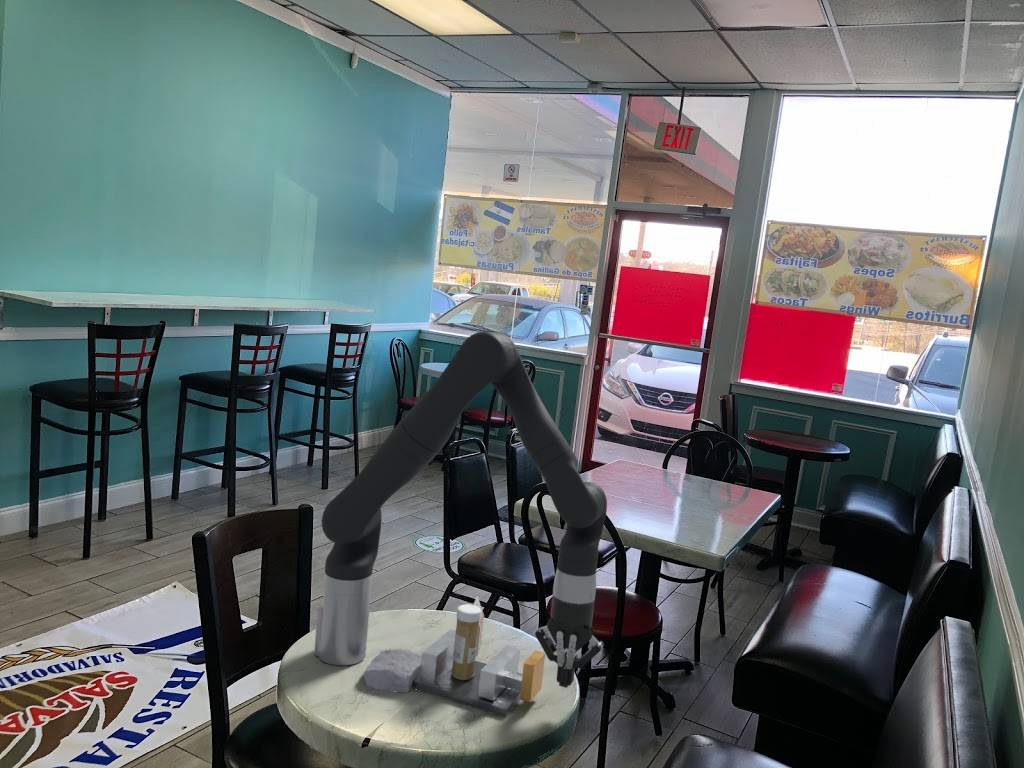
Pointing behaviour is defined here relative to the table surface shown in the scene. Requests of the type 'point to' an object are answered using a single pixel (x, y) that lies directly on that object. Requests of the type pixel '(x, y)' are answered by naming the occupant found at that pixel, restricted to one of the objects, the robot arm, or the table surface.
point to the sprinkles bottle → (465, 641)
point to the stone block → (393, 670)
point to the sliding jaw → (512, 674)
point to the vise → (444, 685)
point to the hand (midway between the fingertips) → (564, 685)
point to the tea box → (480, 627)
